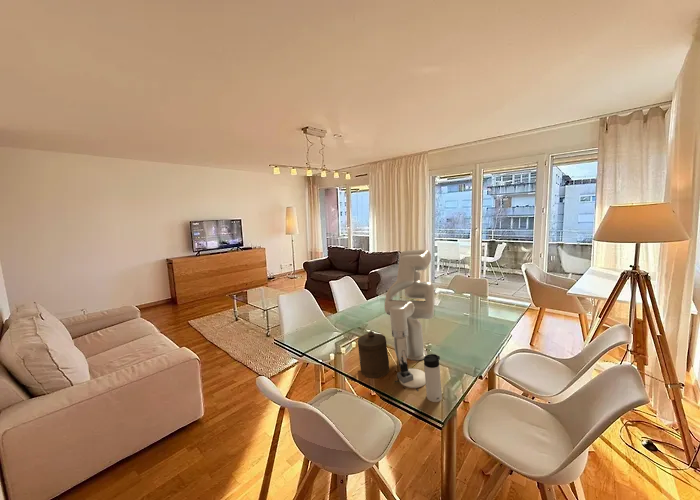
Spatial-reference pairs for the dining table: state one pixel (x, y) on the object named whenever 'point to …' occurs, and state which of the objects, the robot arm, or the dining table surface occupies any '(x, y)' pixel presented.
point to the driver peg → (403, 372)
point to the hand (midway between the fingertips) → (403, 367)
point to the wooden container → (373, 355)
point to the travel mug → (433, 377)
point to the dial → (412, 378)
